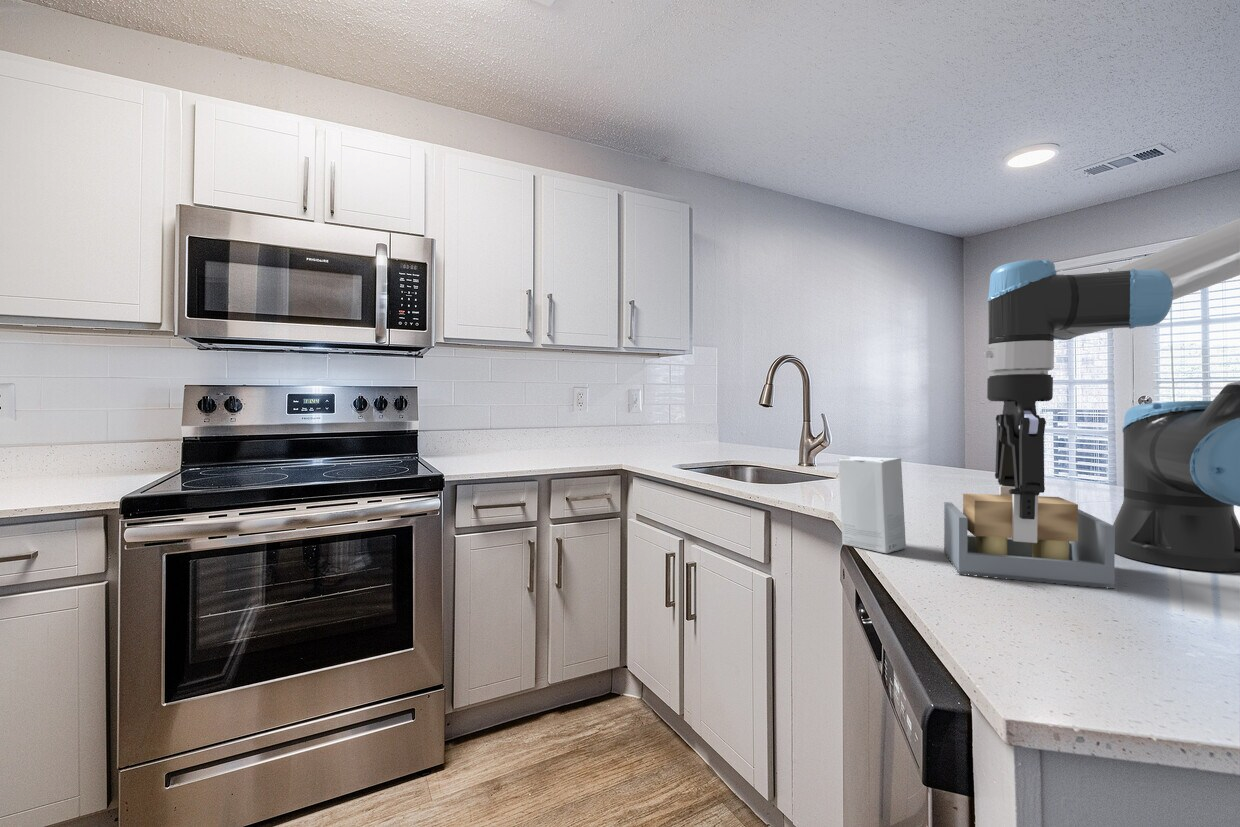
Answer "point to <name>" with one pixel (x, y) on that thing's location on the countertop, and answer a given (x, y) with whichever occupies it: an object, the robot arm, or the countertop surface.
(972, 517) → the wooden block
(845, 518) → the skincare box
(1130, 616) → the countertop surface
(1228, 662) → the countertop surface
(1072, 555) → the peg frame
